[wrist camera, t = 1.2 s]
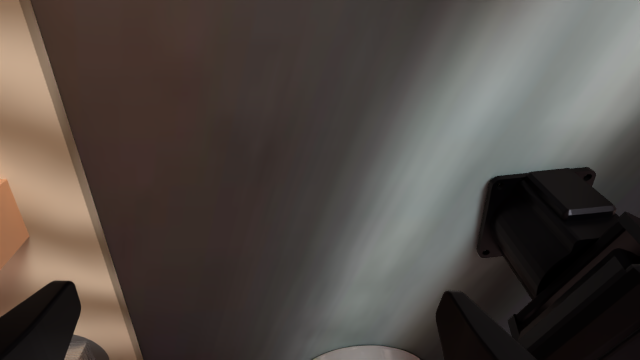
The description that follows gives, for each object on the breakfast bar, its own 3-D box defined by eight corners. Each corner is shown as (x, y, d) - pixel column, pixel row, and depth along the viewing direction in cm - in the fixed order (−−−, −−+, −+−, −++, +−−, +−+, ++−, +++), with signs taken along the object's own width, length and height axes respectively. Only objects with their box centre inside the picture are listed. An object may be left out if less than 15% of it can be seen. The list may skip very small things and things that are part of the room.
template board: (149, 378, 33) (146, 388, 32) (23, 383, 32) (17, 393, 31) (-2, -102, 15) (-16, -104, 15) (-287, -120, 15) (-316, -123, 14)
